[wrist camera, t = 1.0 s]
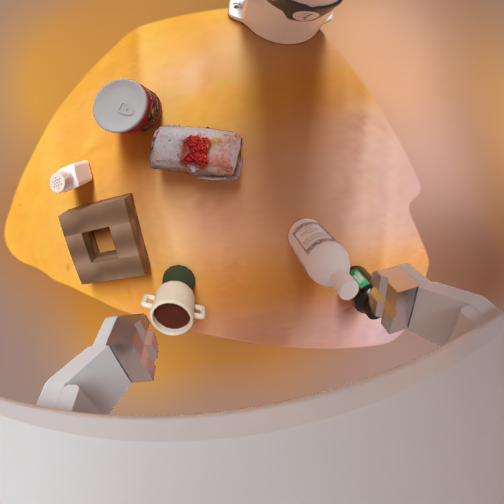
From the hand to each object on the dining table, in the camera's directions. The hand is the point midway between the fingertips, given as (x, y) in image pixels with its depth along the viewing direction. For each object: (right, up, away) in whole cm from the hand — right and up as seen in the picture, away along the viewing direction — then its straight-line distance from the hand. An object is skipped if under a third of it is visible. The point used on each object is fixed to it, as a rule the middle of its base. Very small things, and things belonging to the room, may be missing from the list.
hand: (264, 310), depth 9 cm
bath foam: (+10, +5, +42) cm, 44 cm away
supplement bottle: (+22, -4, +48) cm, 53 cm away
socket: (-28, +5, +37) cm, 46 cm away
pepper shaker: (-31, +16, +31) cm, 47 cm away
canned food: (-19, +26, +29) cm, 43 cm away
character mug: (-14, -3, +43) cm, 45 cm away
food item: (-9, +19, +33) cm, 40 cm away
